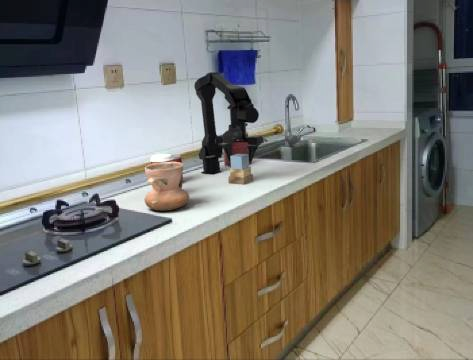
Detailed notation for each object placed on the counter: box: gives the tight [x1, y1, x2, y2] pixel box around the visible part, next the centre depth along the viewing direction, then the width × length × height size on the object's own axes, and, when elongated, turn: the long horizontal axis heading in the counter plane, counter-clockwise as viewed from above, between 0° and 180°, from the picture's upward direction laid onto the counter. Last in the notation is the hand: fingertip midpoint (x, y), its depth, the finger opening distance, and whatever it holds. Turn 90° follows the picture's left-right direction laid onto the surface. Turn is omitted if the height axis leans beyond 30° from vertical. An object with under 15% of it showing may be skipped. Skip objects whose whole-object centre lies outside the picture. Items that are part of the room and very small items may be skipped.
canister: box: [223, 131, 252, 167], centre depth 227 cm, size 13×13×18 cm
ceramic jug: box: [144, 162, 190, 212], centre depth 161 cm, size 18×14×14 cm
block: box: [230, 154, 250, 170], centre depth 191 cm, size 5×5×5 cm
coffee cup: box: [149, 153, 174, 164], centre depth 174 cm, size 8×8×15 cm
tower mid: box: [229, 166, 252, 178], centre depth 192 cm, size 6×6×3 cm
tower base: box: [227, 173, 254, 186], centre depth 192 cm, size 7×7×3 cm
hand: (240, 161), depth 191 cm, fingers open, 9 cm apart
